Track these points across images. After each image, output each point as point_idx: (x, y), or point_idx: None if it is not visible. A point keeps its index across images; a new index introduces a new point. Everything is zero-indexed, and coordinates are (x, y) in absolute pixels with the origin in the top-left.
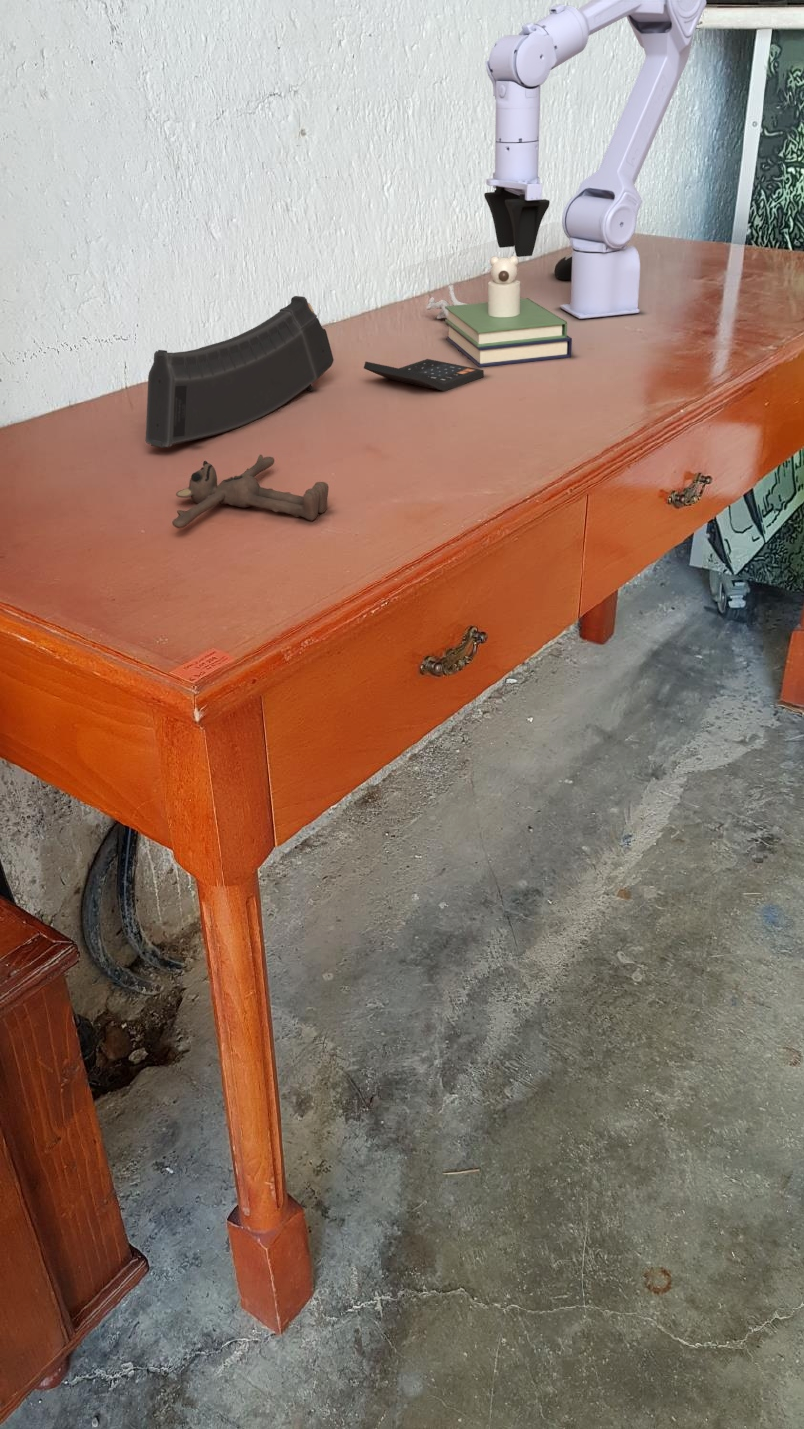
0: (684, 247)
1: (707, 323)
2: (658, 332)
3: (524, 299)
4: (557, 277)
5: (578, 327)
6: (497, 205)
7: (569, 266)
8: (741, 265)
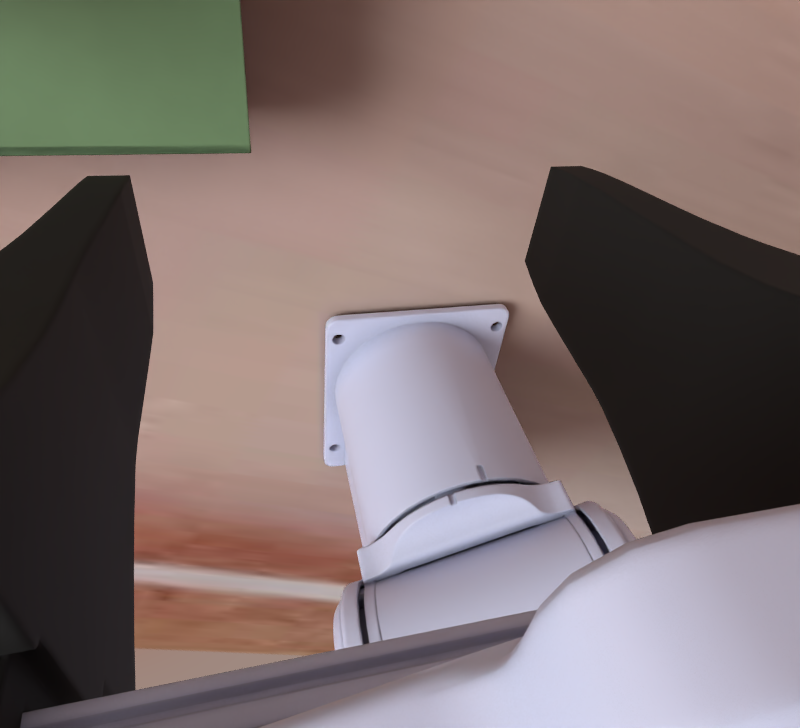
0: None
1: (161, 549)
2: None
3: (223, 125)
4: None
5: (228, 286)
6: (764, 355)
7: None
8: None
